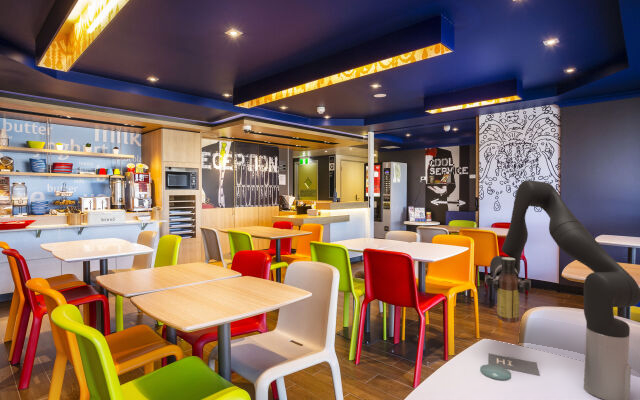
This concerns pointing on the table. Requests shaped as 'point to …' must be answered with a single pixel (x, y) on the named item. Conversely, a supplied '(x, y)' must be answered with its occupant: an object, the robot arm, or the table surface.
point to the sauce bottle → (508, 292)
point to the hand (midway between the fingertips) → (508, 288)
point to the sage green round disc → (495, 372)
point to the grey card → (513, 364)
